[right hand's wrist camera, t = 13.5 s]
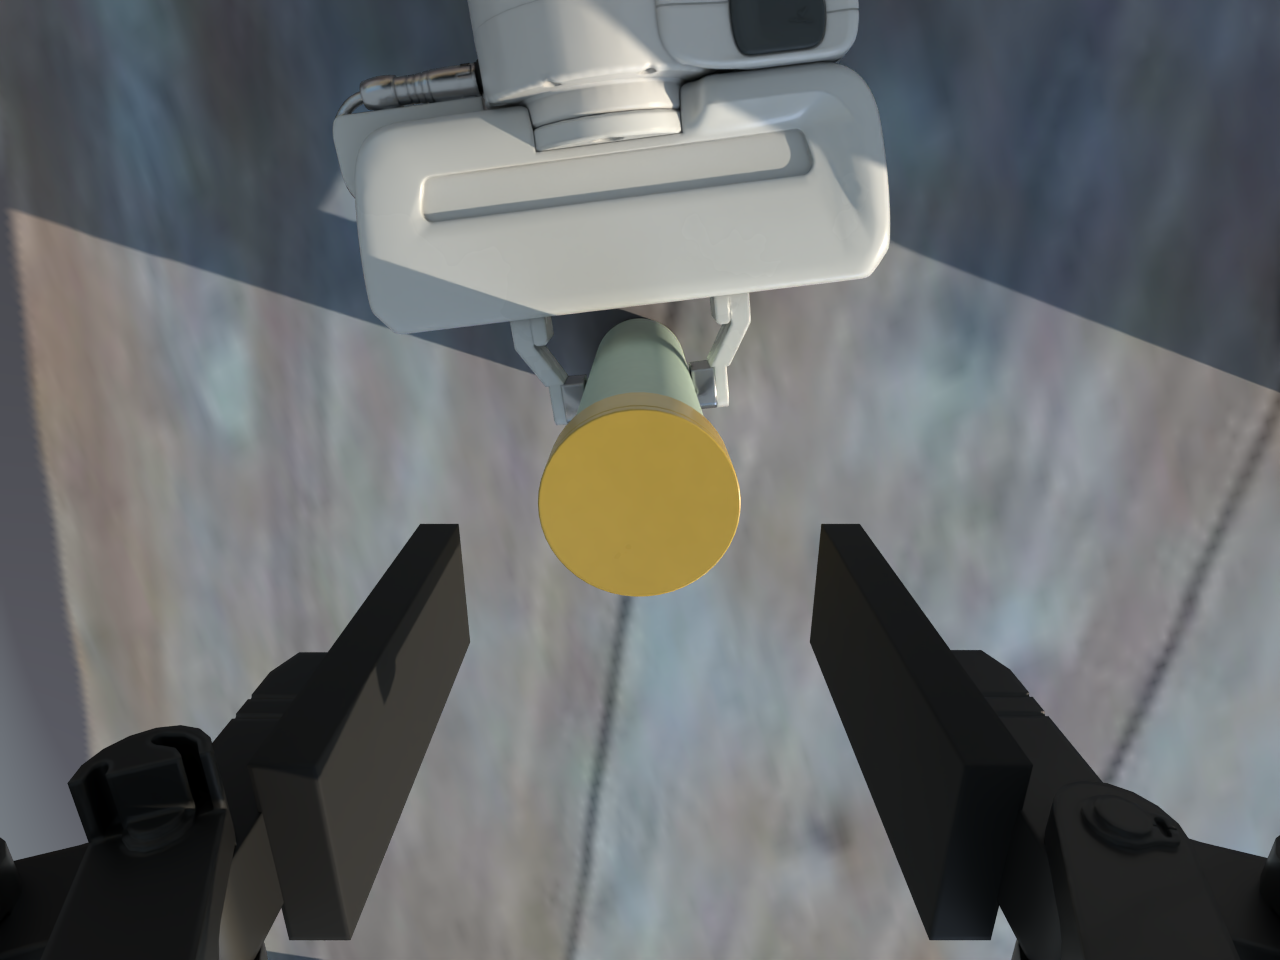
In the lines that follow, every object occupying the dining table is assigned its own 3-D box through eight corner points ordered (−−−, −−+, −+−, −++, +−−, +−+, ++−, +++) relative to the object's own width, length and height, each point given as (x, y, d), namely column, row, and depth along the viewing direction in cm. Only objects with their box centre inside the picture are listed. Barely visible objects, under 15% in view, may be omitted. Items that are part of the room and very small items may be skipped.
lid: (626, 351, 19) (625, 365, 17) (770, 471, 20) (783, 496, 18) (509, 493, 20) (497, 519, 18) (650, 596, 21) (651, 631, 19)
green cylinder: (634, 299, 35) (627, 381, 17) (702, 357, 36) (761, 491, 18) (578, 368, 36) (518, 511, 19) (645, 423, 37) (649, 607, 20)
